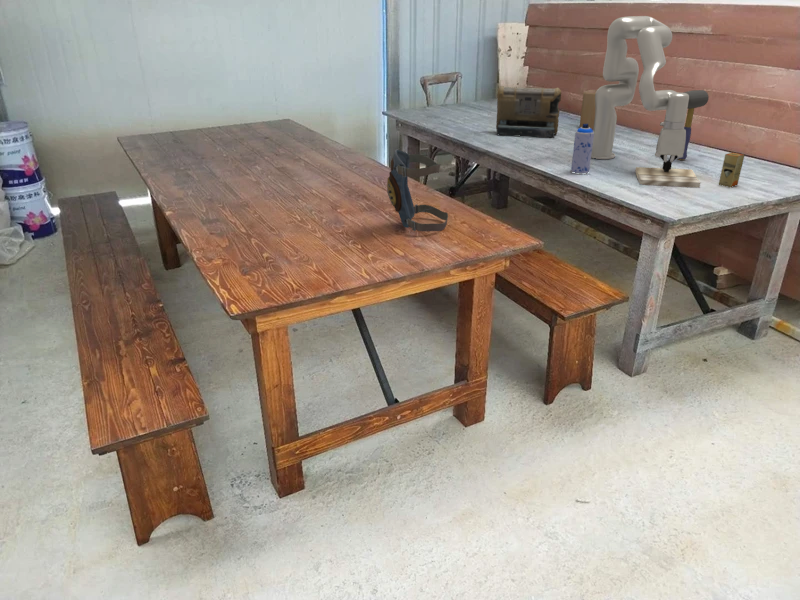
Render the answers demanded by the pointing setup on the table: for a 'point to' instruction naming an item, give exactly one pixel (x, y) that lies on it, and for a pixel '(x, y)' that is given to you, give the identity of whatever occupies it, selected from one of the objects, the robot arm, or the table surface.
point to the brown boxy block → (528, 111)
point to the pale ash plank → (661, 172)
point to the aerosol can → (582, 149)
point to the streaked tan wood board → (669, 180)
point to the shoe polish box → (731, 169)
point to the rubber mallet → (695, 100)
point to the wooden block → (588, 109)
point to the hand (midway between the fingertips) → (666, 171)
